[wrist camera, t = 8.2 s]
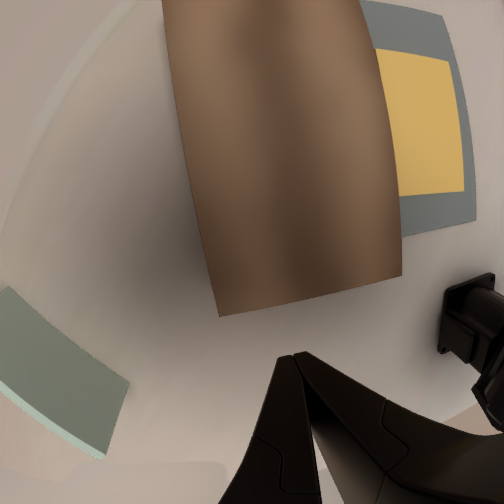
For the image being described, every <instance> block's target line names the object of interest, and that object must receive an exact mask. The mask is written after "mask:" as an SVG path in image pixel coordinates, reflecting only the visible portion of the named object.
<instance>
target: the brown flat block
mask: <svg viewBox="0 0 504 504" xmlns="http://www.w3.org/2000/svg"><path fill="white" fill-rule="evenodd" d="M162 8H163V17H164V25H165V33H166V41H167V48H168V55H169V62H170V69H171V76H172V83H173V89H174V96H175V102H176V108H177V114H178V120H179V126H180V132H181V138H182V143H183V149H184V154H185V160H186V165H187V170H188V176H189V181H190V186H191V191H192V196H193V201H194V206H195V211H196V216H197V221H198V225H199V230H200V235H201V239H202V244H203V249H204V253H205V258H206V262H207V267H208V271H209V275H210V280H211V284H212V288H213V292H214V297H215V301H216V305H217V309H218V313H219V317H221V316H227V315H232V314H237V313H243V312H248V311H253V310H258V309H263V308H268V307H272V306H277V305H282V304H287V303H291V302H296V301H300V300H305V299H309V298H314V297H318V296H322V295H327V294H331V293H335V292H339V291H344V290H348V289H352V288H356V287H360V286H364V285H368V284H372V283H376V282H379V281H383V280H387V279H391V278H395V277H398V276H402V238H401V216H400V201H399V189H398V179H397V169H396V161H395V153H394V146H393V139H392V132H391V126H390V120H389V114H388V109H387V104H386V98H385V93H384V89H383V84H382V80H381V75H380V71H379V67H378V63H377V59H376V55H375V51H374V47H373V44H372V40H371V36H370V33H369V30H368V26H367V23H366V20H365V17H364V14H363V11H362V8H361V5H360V2H359V0H162Z"/></svg>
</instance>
